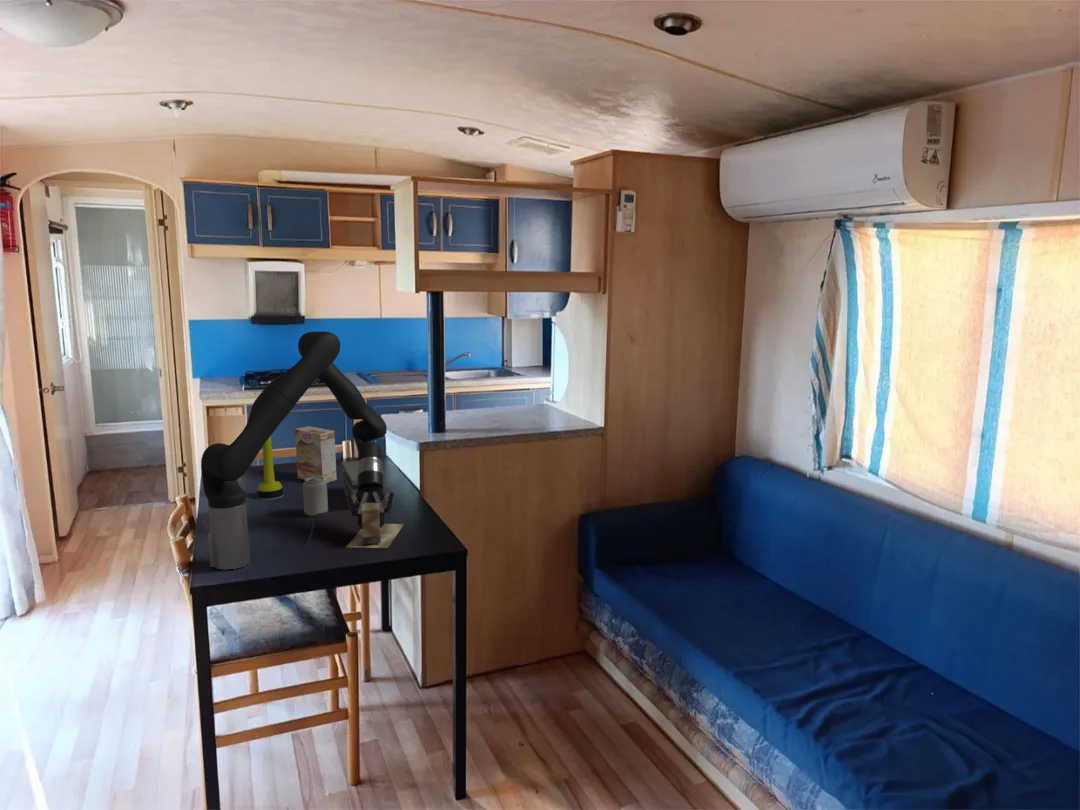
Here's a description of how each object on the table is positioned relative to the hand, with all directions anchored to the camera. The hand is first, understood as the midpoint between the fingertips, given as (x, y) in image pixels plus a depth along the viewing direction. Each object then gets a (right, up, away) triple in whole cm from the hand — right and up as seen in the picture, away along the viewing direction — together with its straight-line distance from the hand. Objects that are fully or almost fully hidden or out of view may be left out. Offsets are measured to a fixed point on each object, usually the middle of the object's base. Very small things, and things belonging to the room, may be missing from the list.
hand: (371, 526), depth 211 cm
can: (-25, -1, +30) cm, 39 cm away
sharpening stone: (-14, +2, +44) cm, 46 cm away
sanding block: (0, -4, +2) cm, 5 cm away
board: (0, -5, +7) cm, 8 cm away
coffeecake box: (-37, +6, +70) cm, 79 cm away
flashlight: (-47, +3, +49) cm, 68 cm away
